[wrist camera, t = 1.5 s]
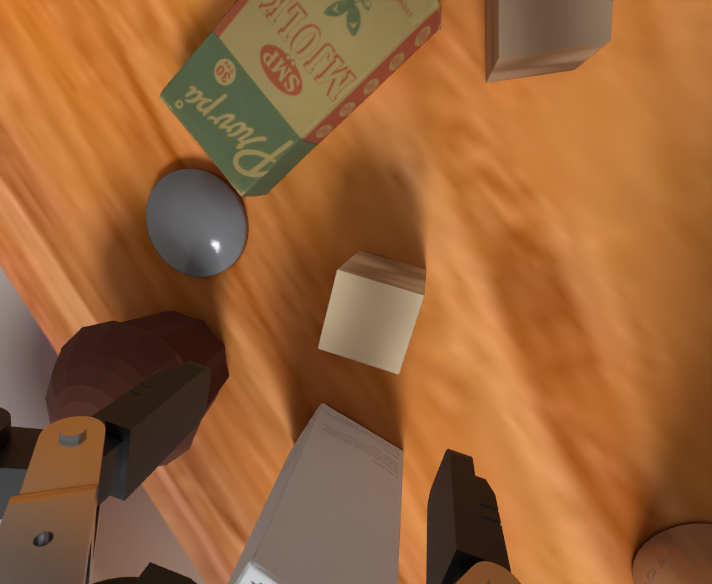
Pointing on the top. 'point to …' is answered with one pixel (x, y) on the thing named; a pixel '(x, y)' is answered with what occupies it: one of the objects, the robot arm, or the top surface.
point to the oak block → (373, 310)
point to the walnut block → (543, 35)
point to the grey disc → (197, 222)
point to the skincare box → (329, 510)
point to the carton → (289, 78)
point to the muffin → (130, 363)
